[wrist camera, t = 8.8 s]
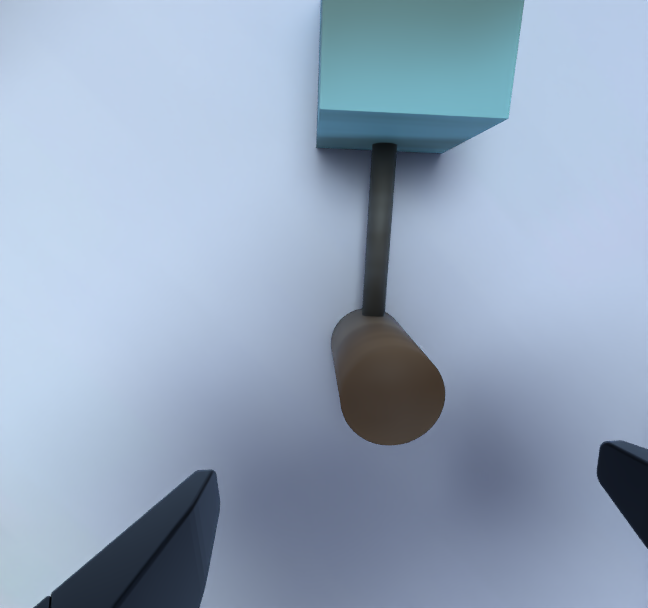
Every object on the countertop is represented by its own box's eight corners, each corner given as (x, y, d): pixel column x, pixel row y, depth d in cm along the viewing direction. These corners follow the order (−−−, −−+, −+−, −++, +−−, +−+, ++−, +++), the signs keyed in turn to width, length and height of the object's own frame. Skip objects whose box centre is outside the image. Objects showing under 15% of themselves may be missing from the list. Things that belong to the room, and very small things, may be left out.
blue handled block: (419, 378, 17) (467, 446, 12) (309, 375, 16) (309, 444, 11) (456, 8, 13) (544, -121, 8) (320, 0, 13) (327, -139, 8)
